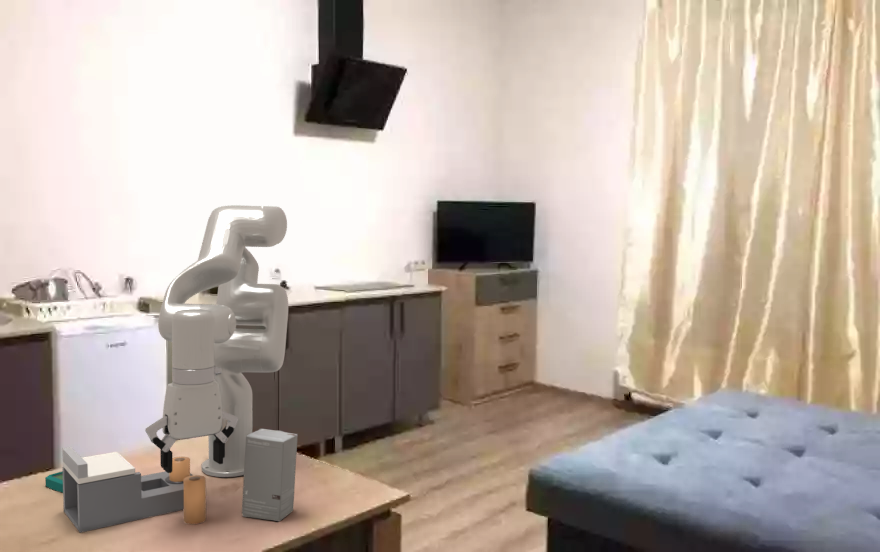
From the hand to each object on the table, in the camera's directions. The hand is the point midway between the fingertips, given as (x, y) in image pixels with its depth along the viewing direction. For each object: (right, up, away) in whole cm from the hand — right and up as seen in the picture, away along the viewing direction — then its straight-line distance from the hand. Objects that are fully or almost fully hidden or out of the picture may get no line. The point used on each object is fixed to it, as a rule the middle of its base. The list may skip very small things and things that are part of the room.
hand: (193, 466), depth 151 cm
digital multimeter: (-29, -9, +21) cm, 37 cm away
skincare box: (+13, -11, +6) cm, 18 cm away
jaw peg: (0, -11, +2) cm, 11 cm away
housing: (-14, -10, +6) cm, 18 cm away
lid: (-18, -1, +2) cm, 19 cm away
